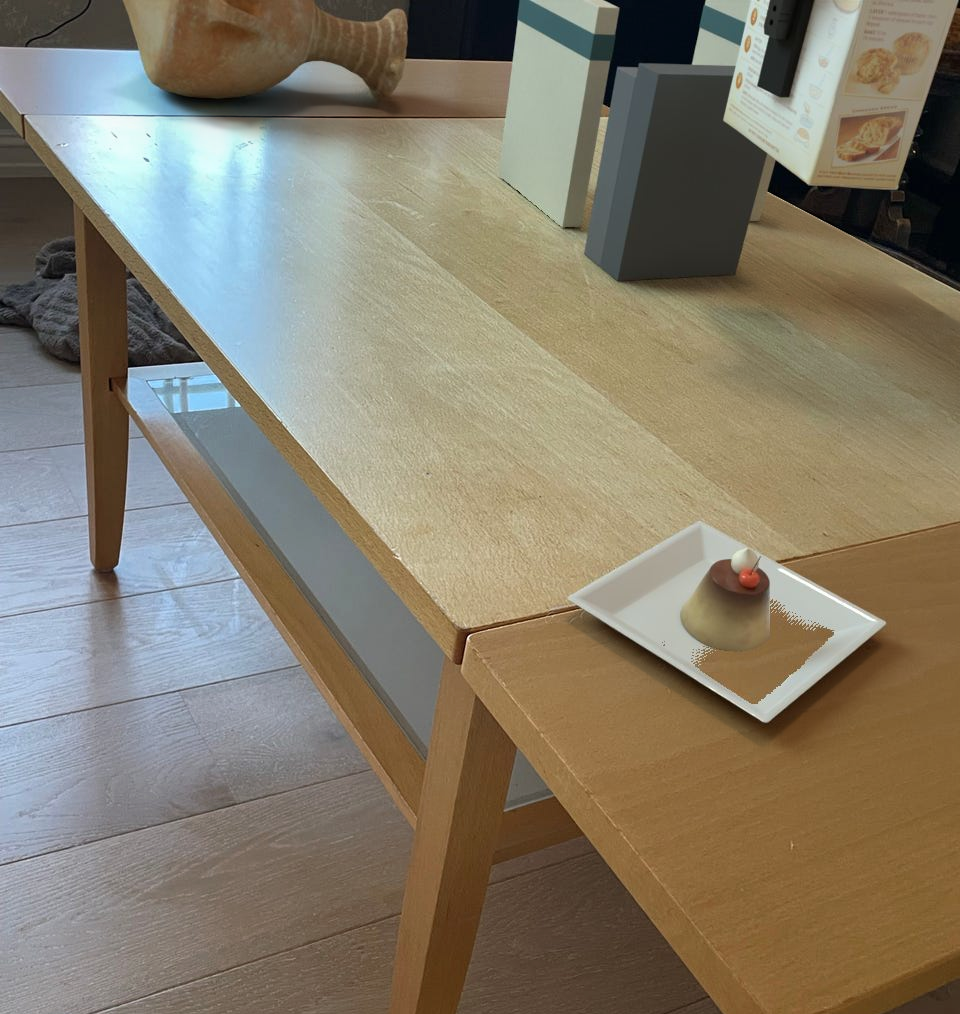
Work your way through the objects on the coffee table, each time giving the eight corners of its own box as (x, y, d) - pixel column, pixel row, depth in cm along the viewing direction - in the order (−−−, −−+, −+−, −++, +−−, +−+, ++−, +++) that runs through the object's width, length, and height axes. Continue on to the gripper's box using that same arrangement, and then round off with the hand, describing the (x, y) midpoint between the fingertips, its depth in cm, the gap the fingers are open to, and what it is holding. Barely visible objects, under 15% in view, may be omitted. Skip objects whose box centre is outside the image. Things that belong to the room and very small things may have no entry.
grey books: (698, 248, 105) (744, 56, 95) (735, 274, 101) (787, 76, 91) (583, 253, 100) (619, 52, 90) (617, 281, 96) (658, 73, 86)
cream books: (684, 173, 123) (726, -18, 112) (760, 221, 113) (815, 17, 102) (497, 176, 114) (523, -31, 103) (562, 228, 105) (598, 6, 94)
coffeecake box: (900, 191, 78) (1016, -156, 66) (805, 188, 76) (906, -171, 64) (803, 125, 89) (887, -183, 77) (719, 121, 87) (790, -195, 75)
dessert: (759, 741, 53) (789, 661, 50) (562, 614, 59) (578, 536, 56) (880, 639, 61) (912, 564, 58) (694, 536, 67) (715, 463, 64)
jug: (94, -63, 123) (359, -11, 137) (105, 118, 124) (368, 152, 137) (125, -179, 105) (427, -106, 119) (138, 33, 106) (436, 82, 119)
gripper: (1023, -314, 73) (900, 78, 87) (755, -365, 65) (668, 75, 79) (1117, -309, 67) (970, 107, 82) (838, -363, 59) (729, 108, 74)
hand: (822, 91), depth 80 cm, fingers closed on coffeecake box, 8 cm apart
